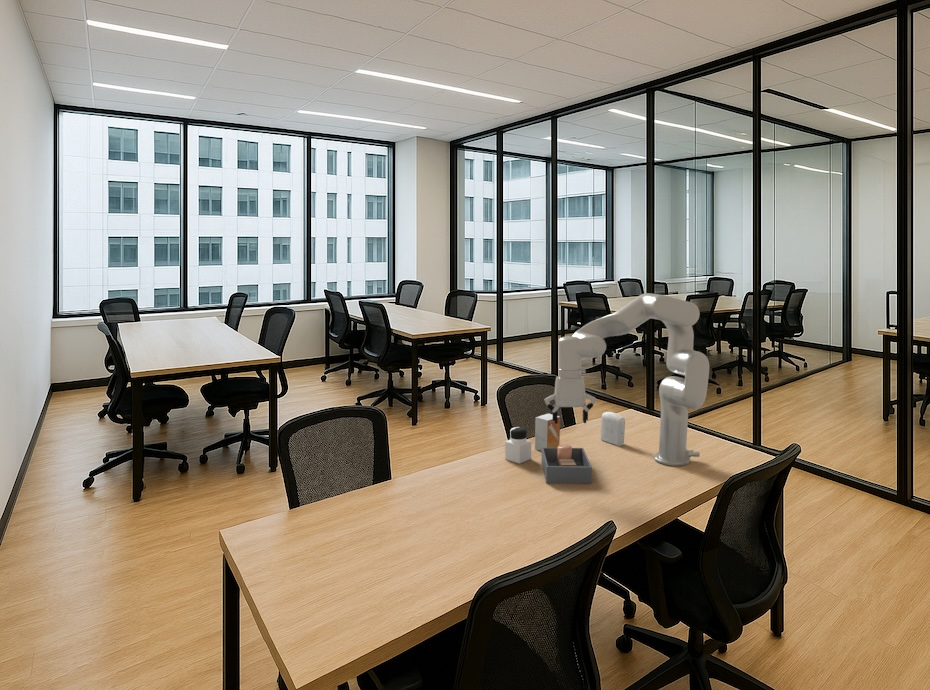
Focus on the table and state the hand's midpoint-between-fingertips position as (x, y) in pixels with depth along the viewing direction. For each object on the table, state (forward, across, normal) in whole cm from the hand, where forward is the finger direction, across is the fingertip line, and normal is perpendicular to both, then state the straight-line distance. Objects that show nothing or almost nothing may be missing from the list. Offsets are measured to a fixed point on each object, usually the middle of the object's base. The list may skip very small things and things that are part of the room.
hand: (570, 422), depth 206 cm
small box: (+20, +5, -30) cm, 36 cm away
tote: (+20, +1, -4) cm, 20 cm away
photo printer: (+21, -22, -38) cm, 48 cm away
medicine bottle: (+20, +17, -18) cm, 32 cm away
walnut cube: (+19, +1, 0) cm, 19 cm away
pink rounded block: (+19, +1, -9) cm, 21 cm away
